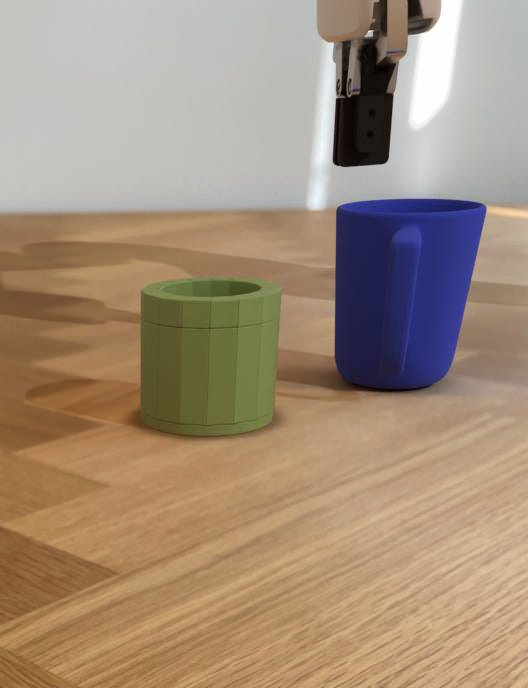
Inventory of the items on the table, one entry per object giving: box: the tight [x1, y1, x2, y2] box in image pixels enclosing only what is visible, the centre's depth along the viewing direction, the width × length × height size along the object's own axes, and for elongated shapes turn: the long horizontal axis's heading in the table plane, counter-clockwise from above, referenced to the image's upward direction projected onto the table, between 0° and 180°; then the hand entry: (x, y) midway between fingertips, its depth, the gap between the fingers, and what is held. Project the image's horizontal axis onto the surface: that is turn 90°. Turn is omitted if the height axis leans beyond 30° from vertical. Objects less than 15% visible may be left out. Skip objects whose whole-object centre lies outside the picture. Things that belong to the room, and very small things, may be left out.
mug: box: [334, 198, 488, 390], centre depth 61 cm, size 8×12×10 cm
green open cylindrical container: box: [139, 276, 283, 437], centre depth 57 cm, size 7×7×7 cm
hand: (360, 164), depth 68 cm, fingers closed
